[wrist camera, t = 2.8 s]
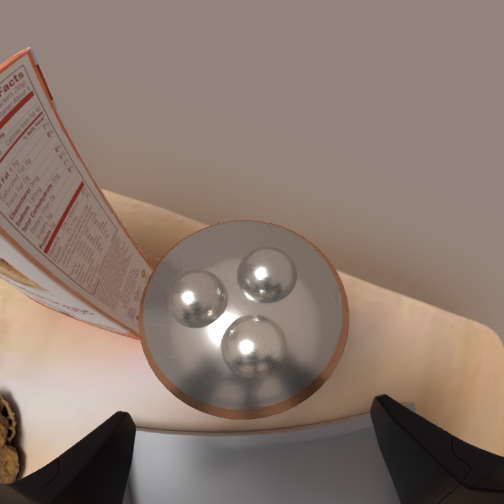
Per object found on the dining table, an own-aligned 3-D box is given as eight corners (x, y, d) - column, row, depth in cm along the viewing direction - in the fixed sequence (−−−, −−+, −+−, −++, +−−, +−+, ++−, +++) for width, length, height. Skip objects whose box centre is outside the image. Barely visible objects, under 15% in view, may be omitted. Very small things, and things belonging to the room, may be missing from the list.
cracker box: (39, 308, 21) (-102, 179, 3) (59, 259, 24) (-55, 113, 6) (148, 348, 20) (-84, 143, 2) (167, 282, 23) (36, 35, 5)
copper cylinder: (313, 364, 19) (402, 297, 7) (249, 421, 17) (226, 472, 5) (256, 307, 21) (249, 170, 9) (193, 359, 19) (90, 284, 7)
